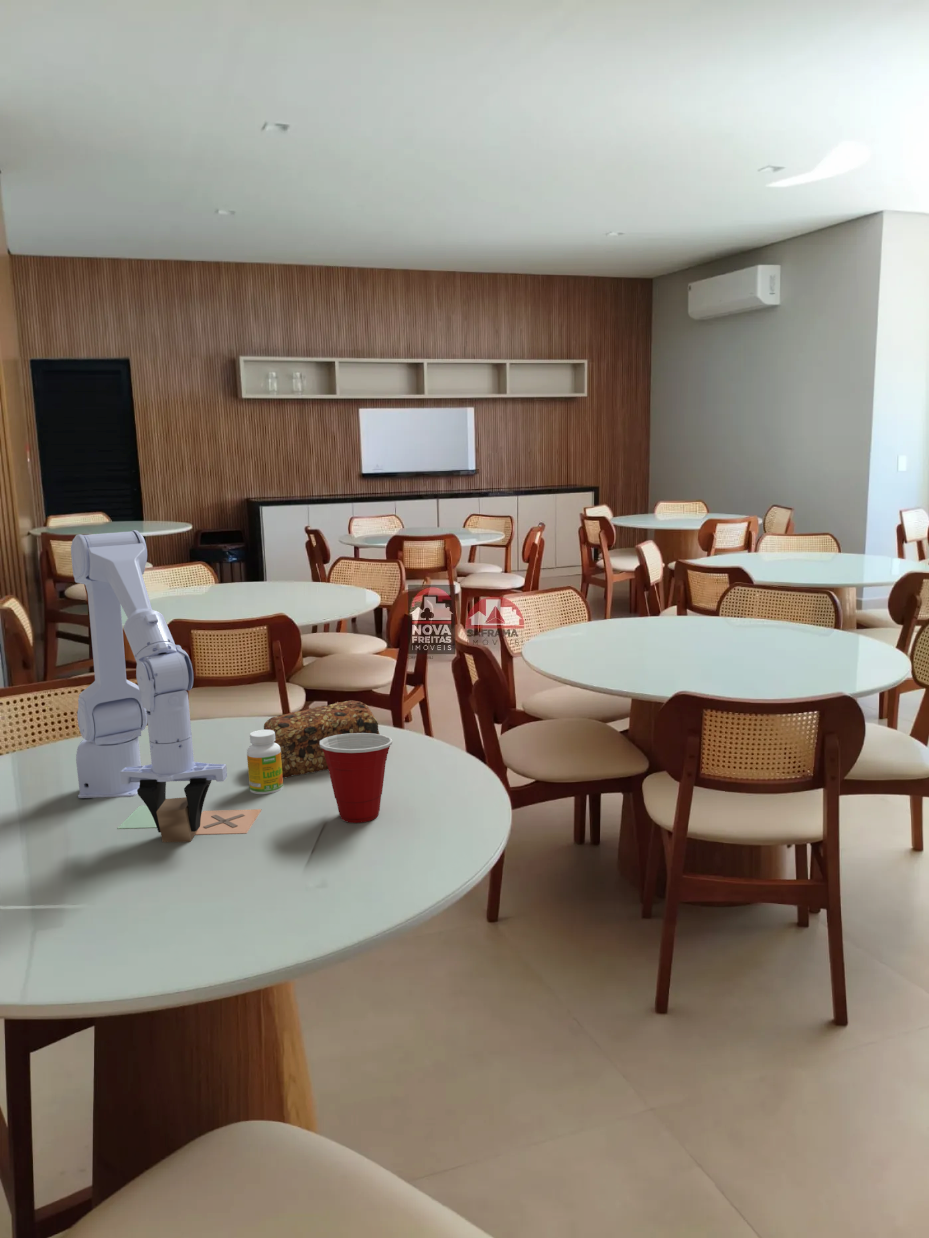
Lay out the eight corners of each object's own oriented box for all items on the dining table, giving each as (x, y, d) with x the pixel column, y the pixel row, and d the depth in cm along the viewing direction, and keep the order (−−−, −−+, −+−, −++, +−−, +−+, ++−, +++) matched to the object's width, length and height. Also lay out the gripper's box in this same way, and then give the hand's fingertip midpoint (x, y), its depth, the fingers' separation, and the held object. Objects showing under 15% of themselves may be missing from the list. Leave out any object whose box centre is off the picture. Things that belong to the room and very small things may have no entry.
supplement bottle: (264, 798, 146) (260, 739, 144) (242, 792, 149) (238, 734, 147) (290, 788, 150) (286, 731, 148) (268, 782, 153) (264, 726, 151)
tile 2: (184, 837, 131) (184, 833, 131) (203, 813, 140) (203, 810, 140) (246, 835, 131) (246, 832, 131) (261, 811, 140) (261, 808, 140)
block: (162, 843, 129) (156, 811, 128) (172, 830, 133) (165, 798, 132) (190, 841, 129) (184, 809, 128) (199, 828, 133) (193, 796, 131)
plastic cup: (409, 807, 140) (405, 731, 137) (373, 833, 130) (368, 753, 128) (348, 798, 144) (344, 725, 142) (309, 823, 134) (304, 745, 132)
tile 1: (117, 830, 134) (117, 828, 134) (140, 807, 143) (139, 805, 143) (177, 829, 134) (177, 826, 134) (196, 806, 143) (196, 803, 143)
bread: (362, 746, 171) (359, 694, 170) (382, 762, 162) (379, 707, 160) (264, 763, 163) (259, 709, 162) (279, 781, 154) (274, 723, 152)
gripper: (108, 748, 124) (118, 842, 127) (213, 744, 124) (221, 839, 126) (127, 732, 131) (137, 822, 134) (227, 729, 131) (235, 819, 133)
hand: (179, 829), depth 131 cm, fingers closed on block, 4 cm apart
